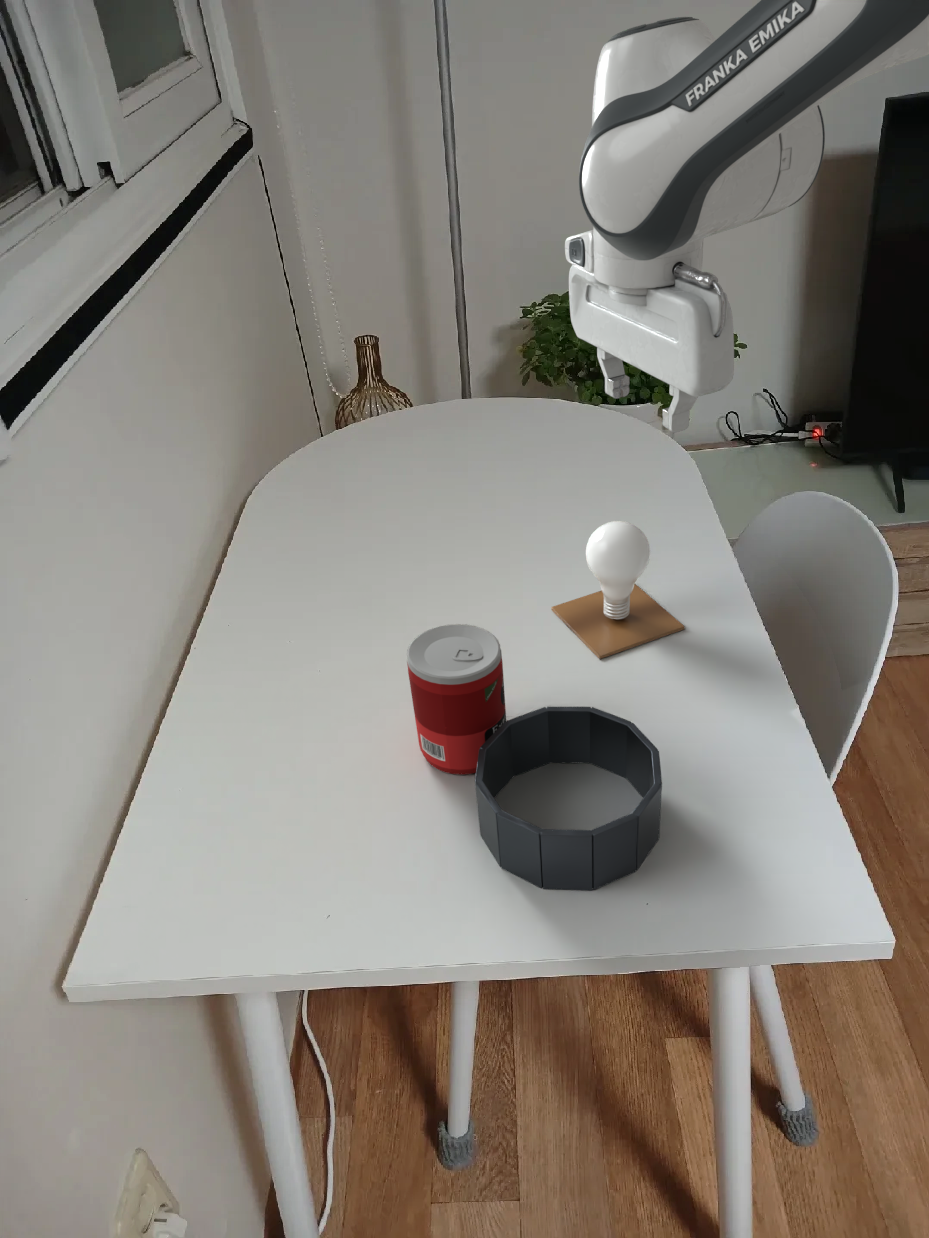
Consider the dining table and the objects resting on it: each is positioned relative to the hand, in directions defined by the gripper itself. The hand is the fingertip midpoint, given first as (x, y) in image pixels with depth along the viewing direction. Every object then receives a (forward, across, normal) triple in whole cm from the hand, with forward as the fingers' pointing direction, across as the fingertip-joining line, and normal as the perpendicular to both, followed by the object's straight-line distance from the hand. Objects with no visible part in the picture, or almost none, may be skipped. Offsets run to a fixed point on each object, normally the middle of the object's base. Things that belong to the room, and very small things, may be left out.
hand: (645, 411), depth 86 cm
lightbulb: (+23, +1, +2) cm, 23 cm away
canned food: (+23, -8, +24) cm, 34 cm away
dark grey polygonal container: (+23, -20, +20) cm, 37 cm away
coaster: (+23, +2, +2) cm, 23 cm away
